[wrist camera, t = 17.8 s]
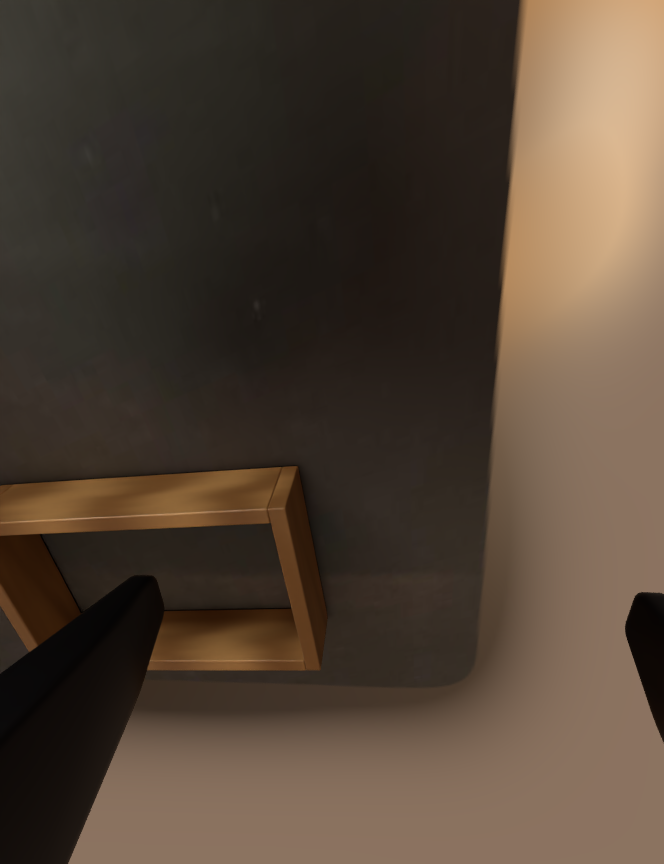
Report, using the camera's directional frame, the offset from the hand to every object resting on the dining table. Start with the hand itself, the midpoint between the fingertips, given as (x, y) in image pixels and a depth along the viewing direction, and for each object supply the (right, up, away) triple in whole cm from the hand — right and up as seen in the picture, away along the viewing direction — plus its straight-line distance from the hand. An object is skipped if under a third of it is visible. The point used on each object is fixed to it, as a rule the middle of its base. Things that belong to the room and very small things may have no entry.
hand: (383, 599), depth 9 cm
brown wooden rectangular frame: (-10, -4, +18) cm, 21 cm away
